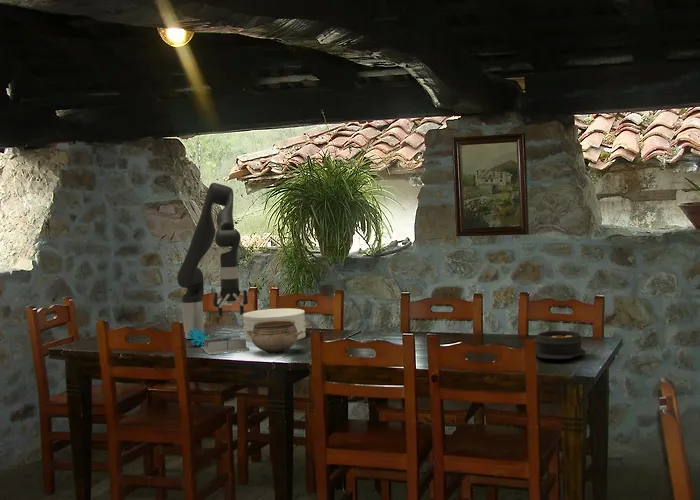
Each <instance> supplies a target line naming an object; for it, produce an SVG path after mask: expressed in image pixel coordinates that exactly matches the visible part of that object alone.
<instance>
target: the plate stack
mask: <svg viewBox="0 0 700 500" xmlns="http://www.w3.org/2000/svg"><path fill="white" fill-rule="evenodd" d="M305 316H306V315H305V310H304V309H302V308H286V307H285V308H283V307H282V308H269V309H258V310H252V311H248V312H244V313H242V318H243V324H244V325H243V335H244V336H243V339H246V342H248V343H253V342H252V338H251V336H249V335H248V334H247V333H246V332H247V331H248V330H249V331H253V328H254V326H253V323H255V322H259V321H266V320H279V319H286V320H294V321H295V323H294V325H295V327H296V329H297V332H300V331H303V333H302V334H300V335H298V338H297V340H301V339H303V338H305V337H306V320H305V319H306V317H305Z"/></svg>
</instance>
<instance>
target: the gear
mask: <svg viewBox="0 0 700 500" xmlns="http://www.w3.org/2000/svg"><path fill="white" fill-rule="evenodd" d="M196 330H197V329H196V328H194V329H193V330H192V329H191V330H190V332H189V333H188V335H189V339H193V340H191V341H190V342H191V343H192V345H193V344H195V346H197V347H199V346H201V345H204V344H203V343H204V339H210V337H211V335H210V334H208V335H206V334H207V333H206V332H205V331H204V332H203V333H200V332H201V331H202V330H200V329H199V330H198V332H196ZM193 331H194V332H193ZM191 333H192V334H191Z"/></svg>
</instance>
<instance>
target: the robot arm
mask: <svg viewBox="0 0 700 500" xmlns="http://www.w3.org/2000/svg"><path fill="white" fill-rule="evenodd" d="M213 204H215V205H218V206H222V207H223V208H222V209H221V210H220V211H219V212H218V214H217V215H216V224H217V226H216V227H217V230H216V227H215V223H214V221H213V220H214V219H213V214H212V207H213ZM233 210H234V190H233V188H232V187H230V186H228V185H224V184H221V183H217V182H211V184H210V185H209V187H208V190H207V191H206V195H205V198H204V202H203V207H202V210H201V213H200V215H199V218H198V222H197V225H196V226H195V228H194V232H193V235H192V238H191V241H190V244H189V247H188V250H187V252H186V255H185V258H184V260H183V261H182V264H181V266H180V268H179V271H178V274H177V278H176V279H177V284H178V285H179V287H181V288H182V289H186V291H185V293H184V294H183V295H182V297H181V303H182V320H183V333H184V332H185V338H186V339H189V335H188V333H189V332H190V330H191V329H192V330H193V329H194V328H196V329H197V330H196V332H198V330H199V329H200V330H202V331H201V332H200V333H203V332H205V323H204V309H203V308H204V306H203V296H204V293H205V291H204V283H205V282H204V275H203V274H204V273H203V271H202V269H200V267H198V266H199V263H200V262H201V260H202V259H203V258H204V256H205V255H206V254H207V253H208V251H209V250H210V248H211V247H212V245H213V241H214V242H215V245H216V246H218V247H220V248H230V247H231V249H230V251H226V252H223V253H221V254H220V256H219V257H220V258H219V259H220V261H219V262H220V272H219V273H220V291H219V292H217V291H214V292H213V298H212V300H213V301H212V302H213V303H212V304H213V307H215V308H217V311H218V312H217V314H218V316H220V317H223V305H224V304H225V303H226V302H227V303H230V302H235V301H236V302H237V303H238V305H239V315H241V316H243V314H245V308H244V306H246V305H248V304H249V300H248V292H247V290H246V289H242V290H240V281H239V280H240V279H239V278H240V277H239V276H240V275H239V269H238V253H239V251H238V250H239V246H240V242H241V233H240V232H239V231H238V230H237V229H235V222H234V216H233V213H234V211H233ZM240 295H241V296H242V298H243V301H242V300H241V299H240V297H239V296H240ZM220 296H221V299H220V300H219V302H218V298H220ZM193 332H194V331H193ZM191 334H192V333H191ZM186 339H185V340H186Z"/></svg>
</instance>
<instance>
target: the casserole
mask: <svg viewBox="0 0 700 500" xmlns="http://www.w3.org/2000/svg"><path fill="white" fill-rule="evenodd" d="M534 342H536V345H537V348H536V349H537V355H536V357H538V358H539V359H546V360H547V359H548V360H559V361H560V360H562V361H563V360H564V361H565V360H571V359H574V358H575V359H576V358H577V357H579V356H583V355H585V354H586V353H587V351H586V350H585V349H584V348H582V347H581V345H582V343H583V342H584V339H583V338H582V336H581V334H580V333H579V332H576V331H572V330H571V331H570V330H569V331H568V330H550V331H548V330H547V331H542V332H538V333H537V334H536V337H535V339H534Z"/></svg>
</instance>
